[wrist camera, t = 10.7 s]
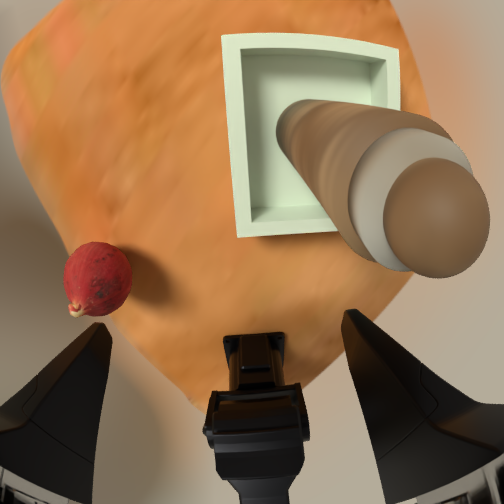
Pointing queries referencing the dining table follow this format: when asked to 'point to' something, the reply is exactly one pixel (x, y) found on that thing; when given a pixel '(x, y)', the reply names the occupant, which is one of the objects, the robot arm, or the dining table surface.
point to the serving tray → (276, 101)
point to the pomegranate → (97, 279)
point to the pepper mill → (389, 184)
